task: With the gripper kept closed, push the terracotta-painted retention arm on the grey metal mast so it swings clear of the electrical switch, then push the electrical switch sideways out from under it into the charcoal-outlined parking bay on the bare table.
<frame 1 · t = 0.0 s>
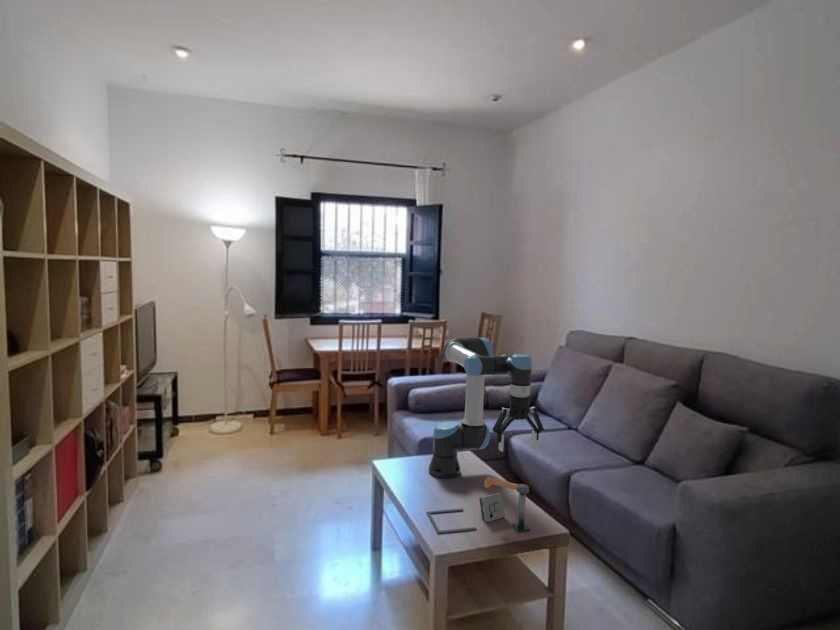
hand: (517, 449, 191), 28 cm above the table, fingers open, 13 cm apart
mast: (520, 528, 187), on the table
retention arm: (506, 486, 189), point 15 cm above the table, hinge at 0.0°
bay: (451, 521, 191), on the table
electrical switch: (490, 518, 195), on the table
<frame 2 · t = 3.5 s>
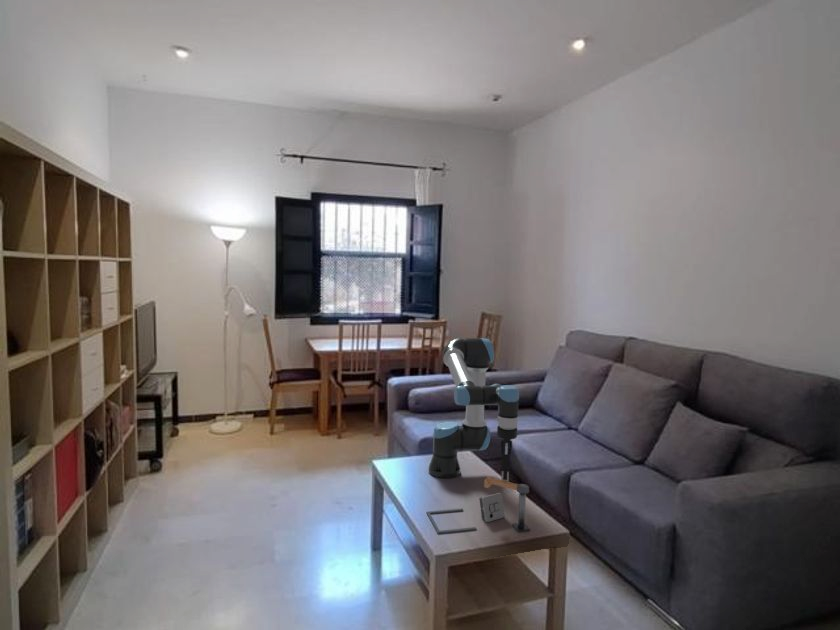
hand: (504, 486, 192), 14 cm above the table, fingers closed
retention arm: (506, 486, 189), point 15 cm above the table, hinge at 0.3°, touching gripper
everything else where it was.
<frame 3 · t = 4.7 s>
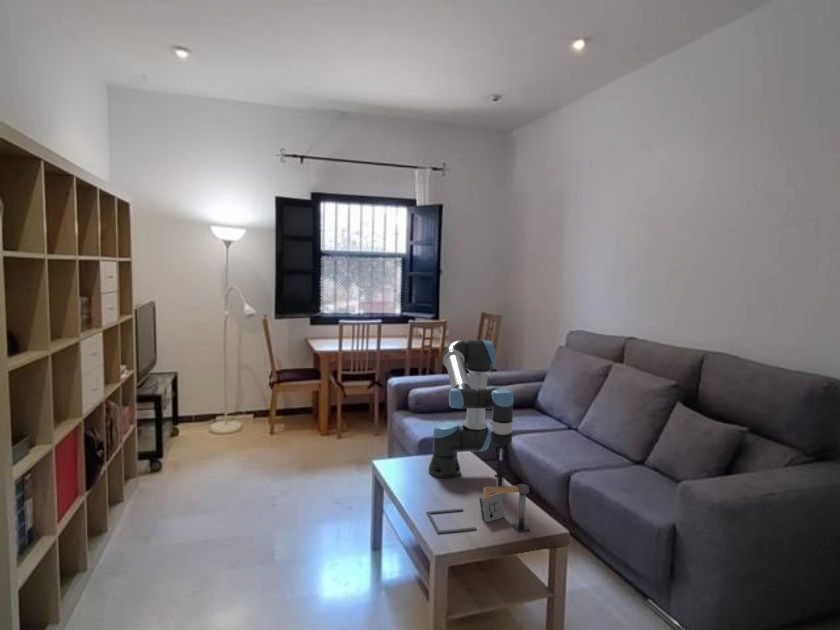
hand: (499, 492, 187), 13 cm above the table, fingers closed
retention arm: (506, 491, 185), point 15 cm above the table, hinge at 39.8°, touching gripper
everything else where it was.
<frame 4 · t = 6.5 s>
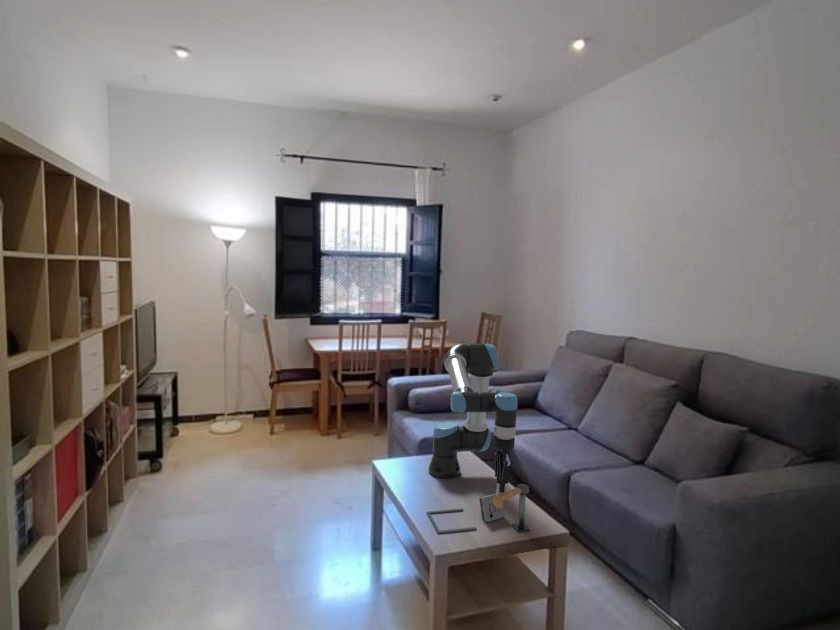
hand: (500, 499, 181), 13 cm above the table, fingers closed
retention arm: (512, 495, 182), point 15 cm above the table, hinge at 71.5°, touching gripper
everything else where it was.
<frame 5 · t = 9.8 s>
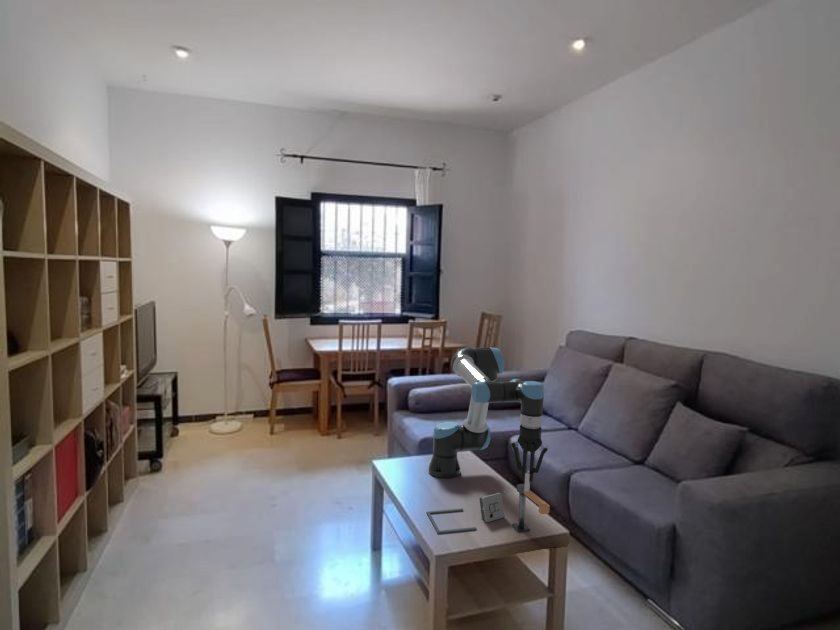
hand: (526, 489, 178), 18 cm above the table, fingers closed
retention arm: (532, 498, 180), point 15 cm above the table, hinge at 140.6°
everything else where it was.
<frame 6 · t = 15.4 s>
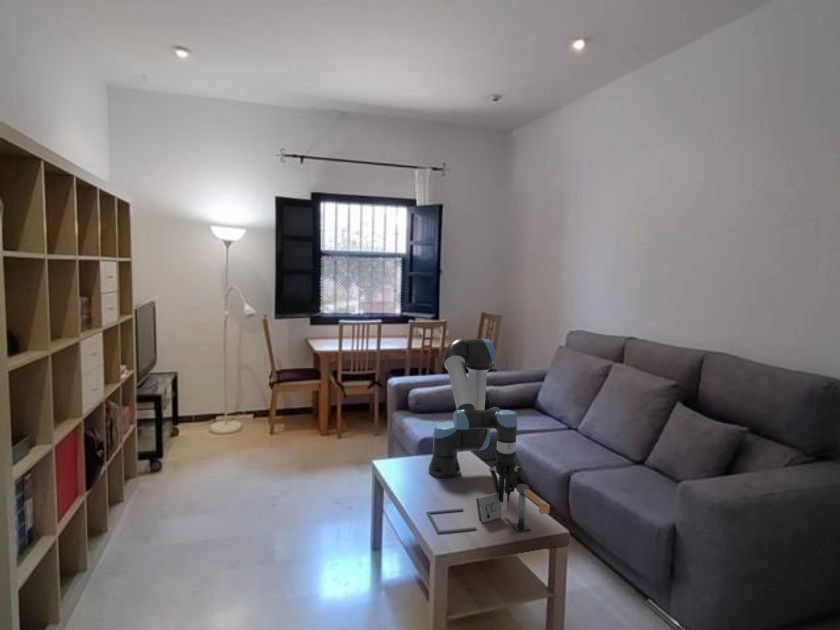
hand: (503, 509, 196), 3 cm above the table, fingers closed
electrical switch: (487, 518, 194), on the table, touching gripper
everything else where it was.
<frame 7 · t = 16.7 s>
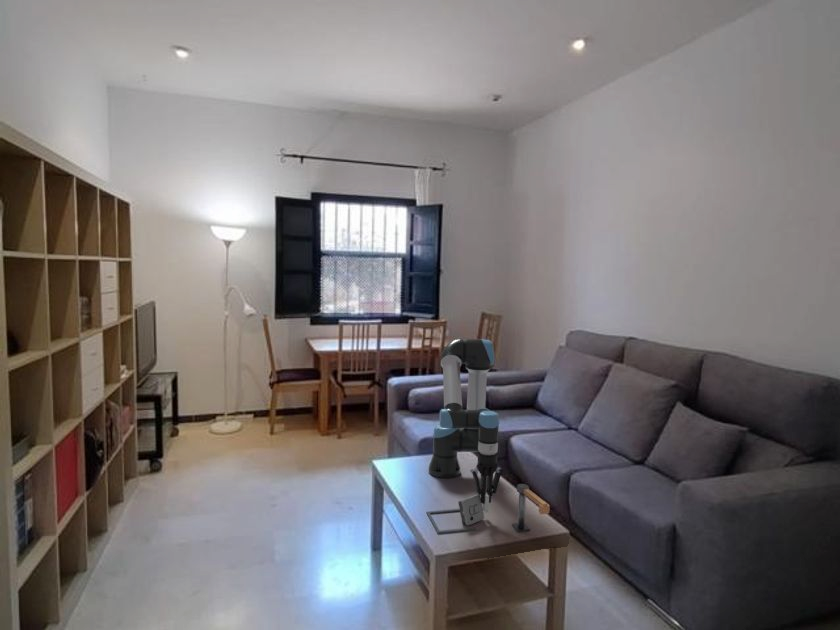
hand: (485, 510, 194), 3 cm above the table, fingers closed
electrical switch: (470, 521, 192), on the table, touching gripper
everything else where it was.
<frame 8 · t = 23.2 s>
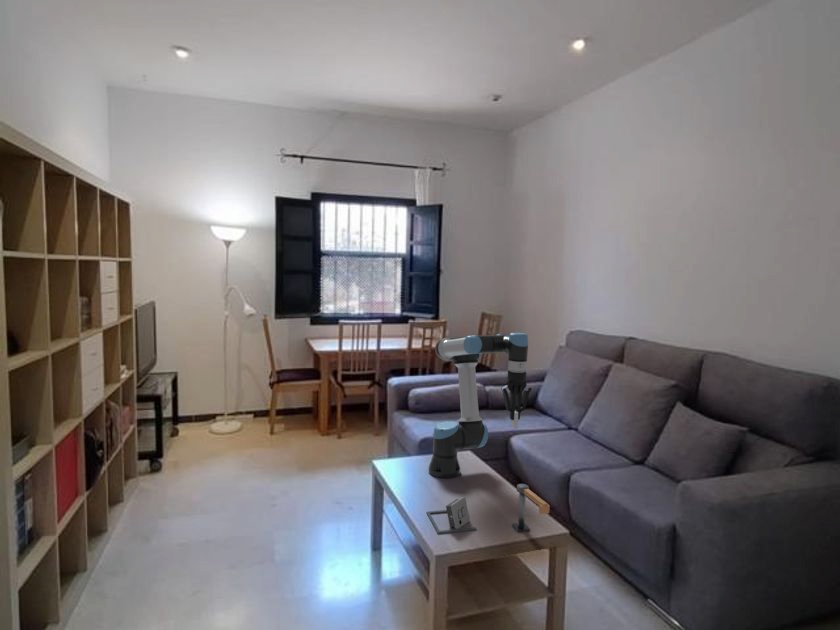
hand: (514, 427, 205), 32 cm above the table, fingers closed
electrical switch: (457, 524, 189), on the table
everything else where it was.
at the end: retention arm at +141° (first picture: +0°); electrical switch inside the target area (2.6 cm from its centre), on the table; electrical switch moved 14.7 cm from its start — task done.
